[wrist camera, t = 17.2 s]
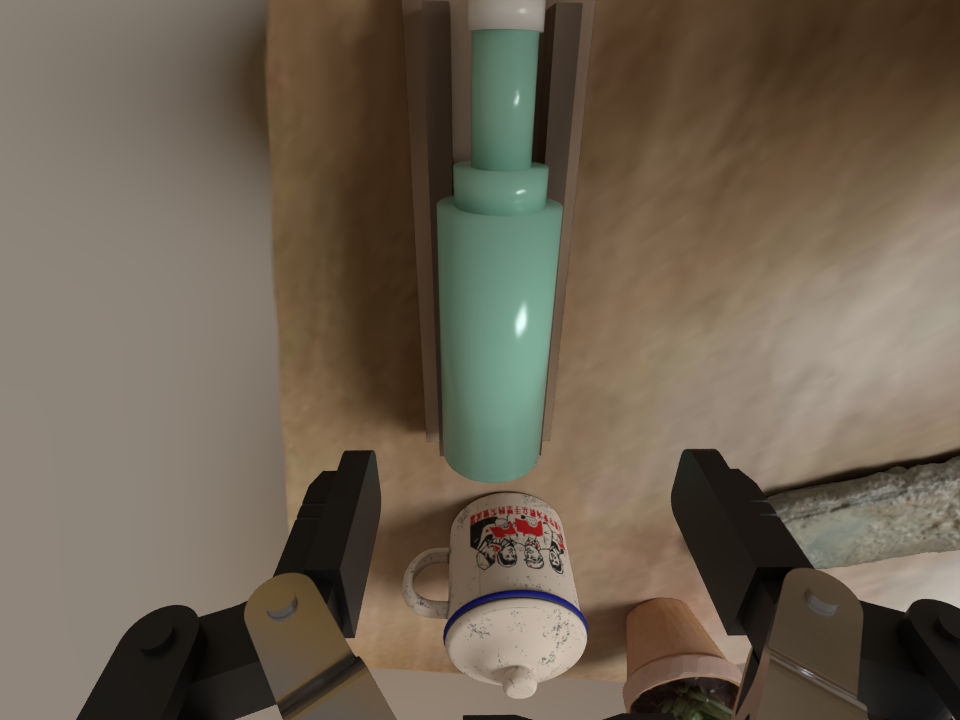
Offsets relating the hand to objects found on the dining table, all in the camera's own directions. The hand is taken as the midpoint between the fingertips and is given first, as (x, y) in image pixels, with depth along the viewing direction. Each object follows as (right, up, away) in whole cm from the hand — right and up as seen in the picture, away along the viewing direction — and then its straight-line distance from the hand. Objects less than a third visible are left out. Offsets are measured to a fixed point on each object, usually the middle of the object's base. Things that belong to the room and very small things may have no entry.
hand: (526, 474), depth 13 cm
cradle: (-1, +9, +14) cm, 17 cm away
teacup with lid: (-1, -10, +26) cm, 28 cm away
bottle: (-1, -2, +14) cm, 14 cm away
